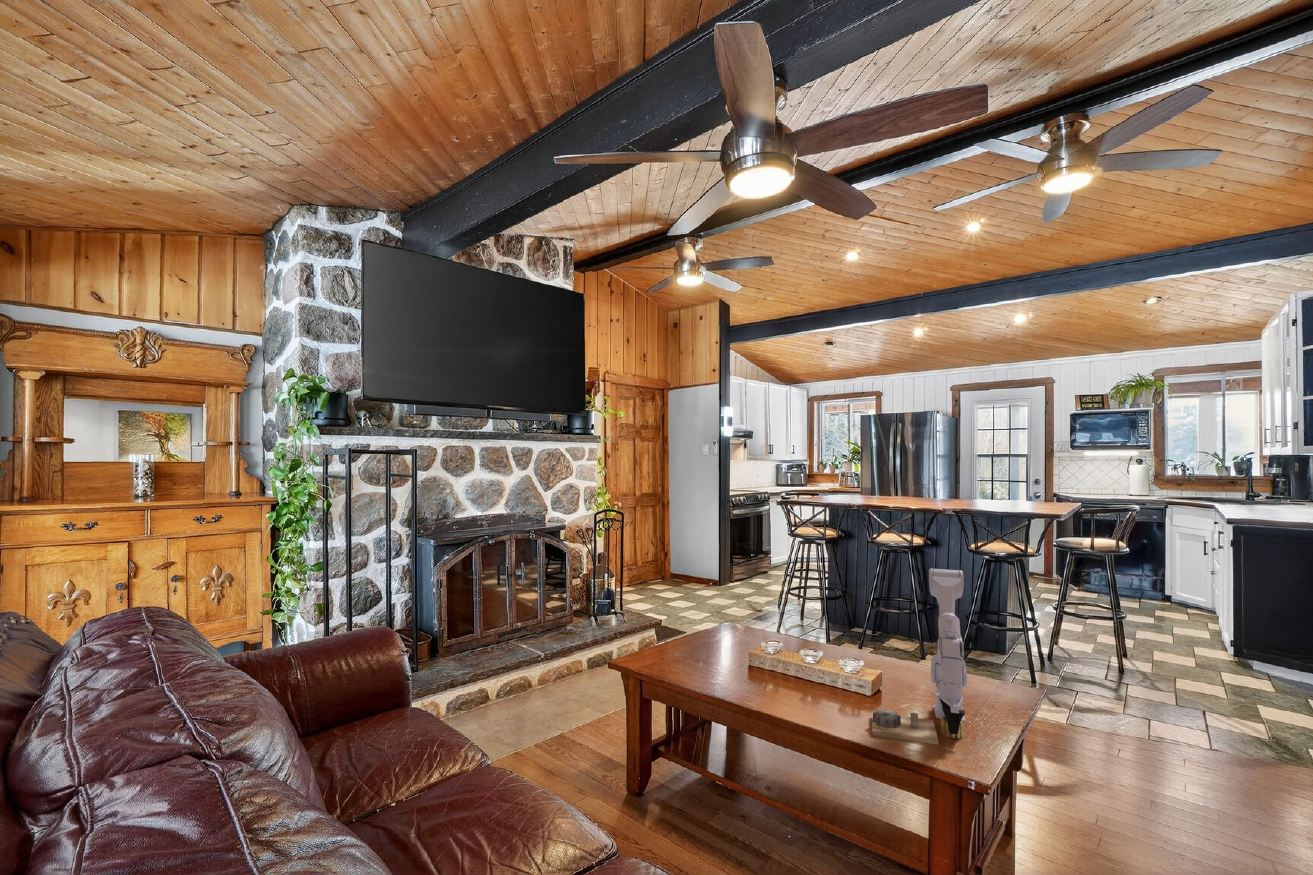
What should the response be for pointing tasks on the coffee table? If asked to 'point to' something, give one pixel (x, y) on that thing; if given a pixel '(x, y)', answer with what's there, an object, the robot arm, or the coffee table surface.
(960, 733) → the brass gear
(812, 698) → the coffee table surface
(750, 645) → the coffee table surface
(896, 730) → the gear board
